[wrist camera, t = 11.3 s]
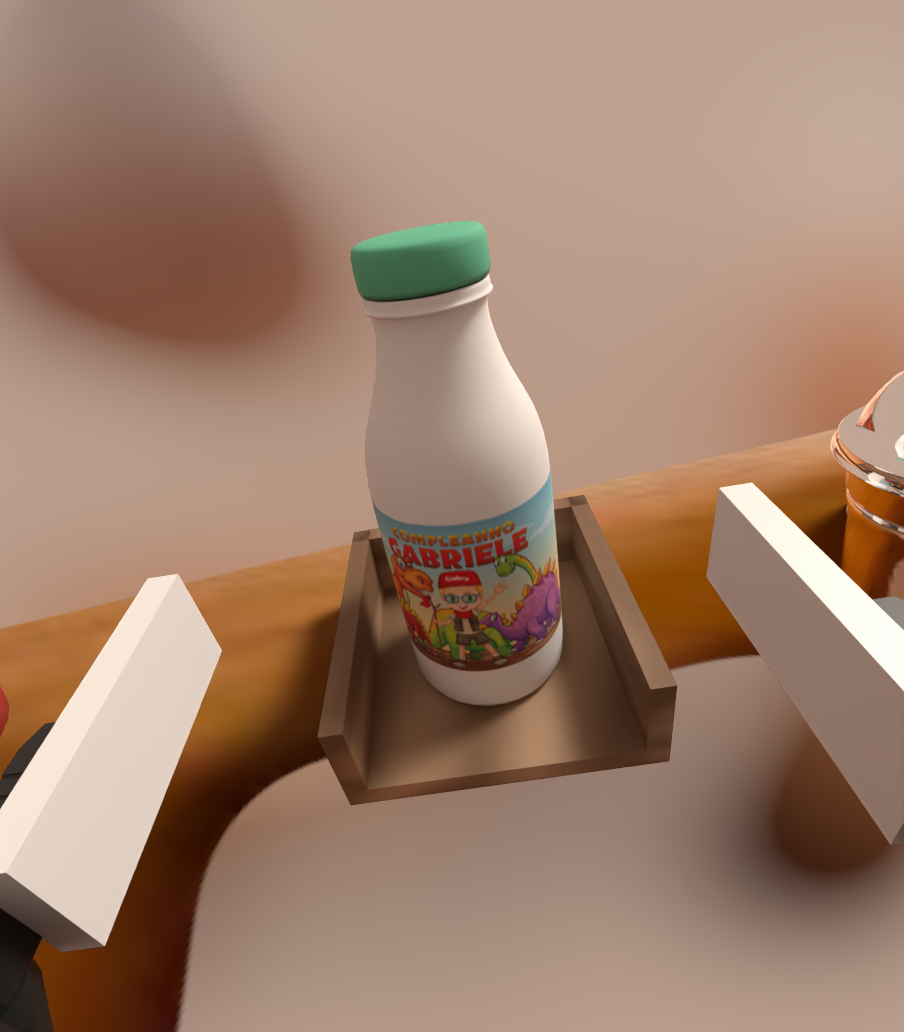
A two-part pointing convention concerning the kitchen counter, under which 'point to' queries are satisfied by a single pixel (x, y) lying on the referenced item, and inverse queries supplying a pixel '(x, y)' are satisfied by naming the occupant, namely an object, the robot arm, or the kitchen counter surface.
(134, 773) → the robot arm
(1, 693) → the onion
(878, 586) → the cup with straw
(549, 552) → the milk bottle
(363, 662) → the wooden tray
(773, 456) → the kitchen counter surface
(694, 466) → the kitchen counter surface
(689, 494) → the kitchen counter surface
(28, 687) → the kitchen counter surface
